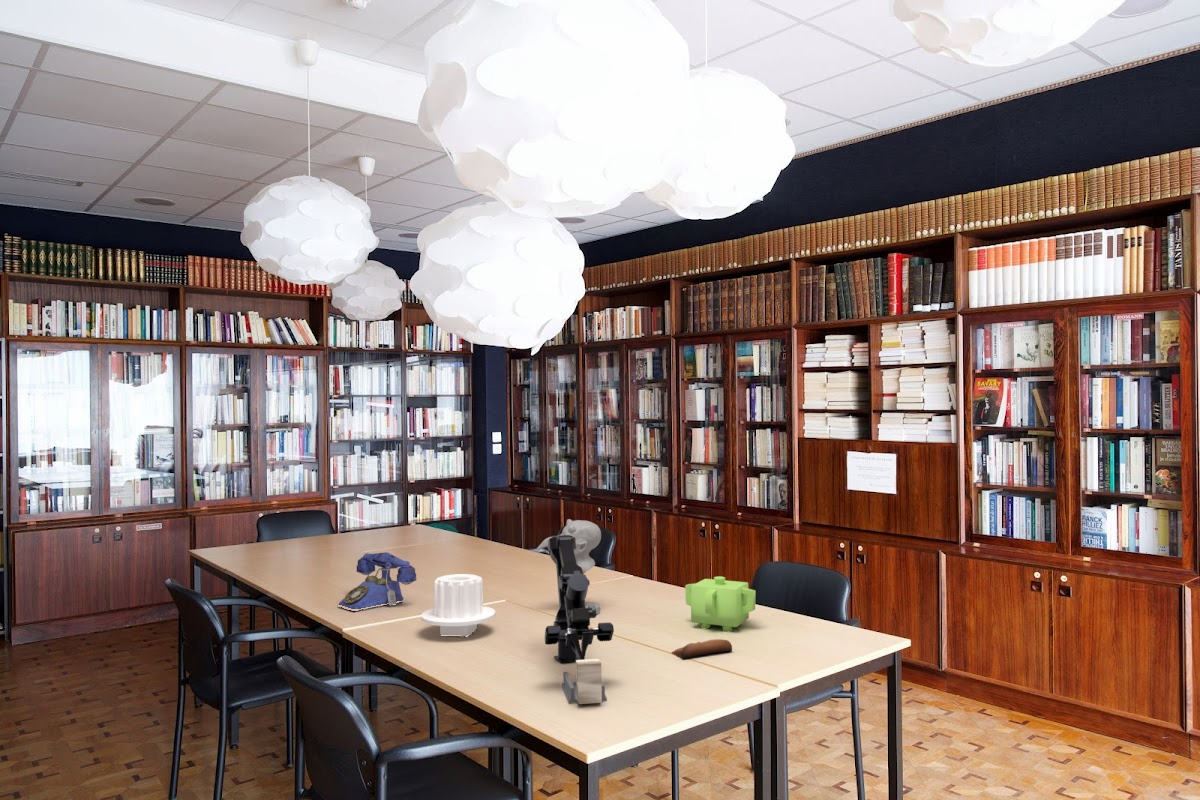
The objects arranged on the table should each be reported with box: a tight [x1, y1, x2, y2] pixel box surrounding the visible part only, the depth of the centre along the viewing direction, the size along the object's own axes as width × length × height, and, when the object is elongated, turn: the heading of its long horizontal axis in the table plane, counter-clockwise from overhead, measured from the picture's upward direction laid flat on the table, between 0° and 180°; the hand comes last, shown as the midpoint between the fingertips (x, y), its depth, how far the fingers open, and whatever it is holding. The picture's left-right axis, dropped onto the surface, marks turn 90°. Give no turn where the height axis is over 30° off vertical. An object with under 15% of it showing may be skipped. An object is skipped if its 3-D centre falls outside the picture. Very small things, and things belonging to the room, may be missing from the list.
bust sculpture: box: [536, 518, 602, 615], centre depth 314 cm, size 16×24×35 cm, turn 87°
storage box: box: [684, 575, 757, 632], centre depth 292 cm, size 25×23×17 cm
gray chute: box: [561, 671, 608, 704], centre depth 223 cm, size 14×10×4 cm
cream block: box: [575, 658, 603, 705], centre depth 215 cm, size 4×6×10 cm, turn 100°
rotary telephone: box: [338, 552, 418, 609], centre depth 332 cm, size 41×24×20 cm, turn 47°
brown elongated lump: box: [670, 638, 733, 660], centre depth 259 cm, size 18×7×7 cm, turn 115°
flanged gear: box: [420, 573, 496, 636], centre depth 286 cm, size 25×25×19 cm
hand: (582, 661), depth 224 cm, fingers closed
